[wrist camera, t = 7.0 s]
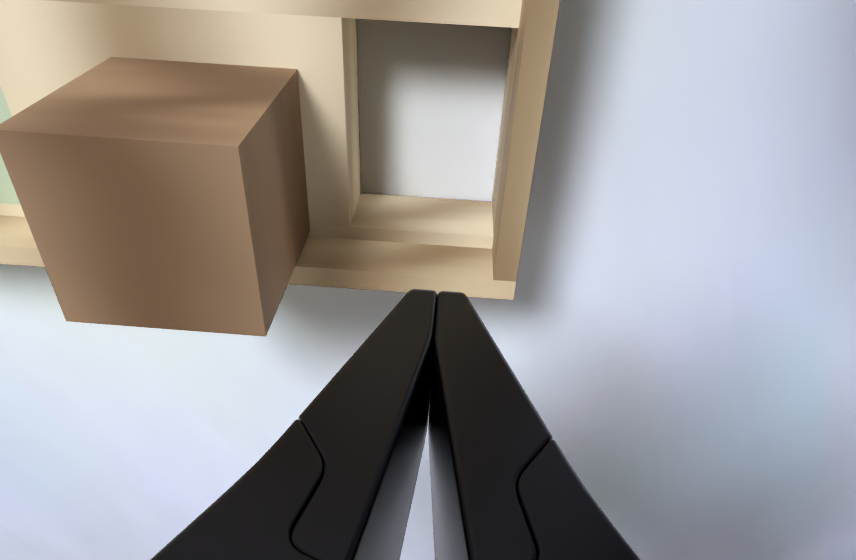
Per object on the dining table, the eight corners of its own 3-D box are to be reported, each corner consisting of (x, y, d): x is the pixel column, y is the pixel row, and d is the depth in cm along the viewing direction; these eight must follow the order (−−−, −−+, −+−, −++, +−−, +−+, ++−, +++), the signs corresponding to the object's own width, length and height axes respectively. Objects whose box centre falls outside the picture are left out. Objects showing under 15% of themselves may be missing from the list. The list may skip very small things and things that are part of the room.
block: (297, 68, 15) (238, 146, 11) (310, 230, 17) (265, 336, 14) (110, 57, 15) (-9, 129, 11) (152, 219, 17) (66, 321, 14)
